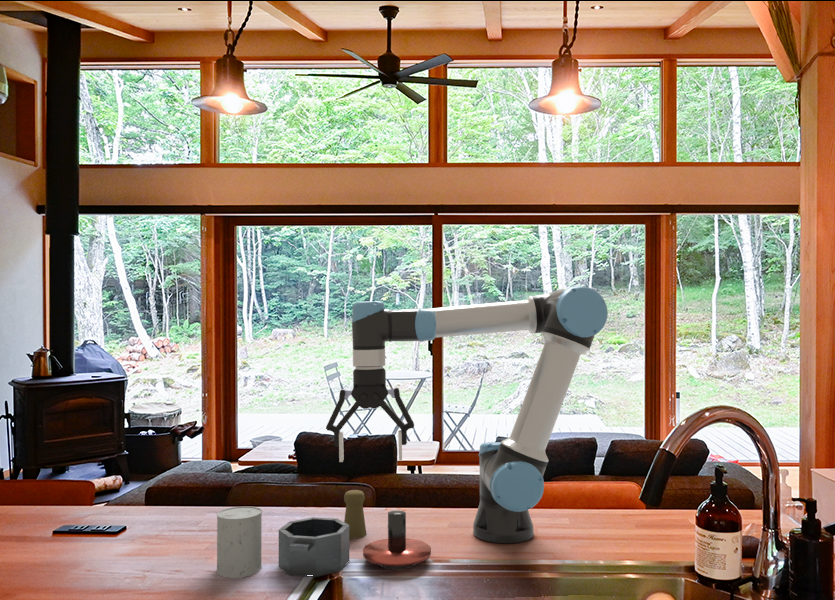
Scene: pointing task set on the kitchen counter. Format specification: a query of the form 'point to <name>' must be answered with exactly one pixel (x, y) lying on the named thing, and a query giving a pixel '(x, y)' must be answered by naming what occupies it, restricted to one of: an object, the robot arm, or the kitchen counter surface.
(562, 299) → the robot arm
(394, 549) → the lid
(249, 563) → the grey concrete cylinder
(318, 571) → the pot
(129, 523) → the kitchen counter surface
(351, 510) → the olive pepper mill
